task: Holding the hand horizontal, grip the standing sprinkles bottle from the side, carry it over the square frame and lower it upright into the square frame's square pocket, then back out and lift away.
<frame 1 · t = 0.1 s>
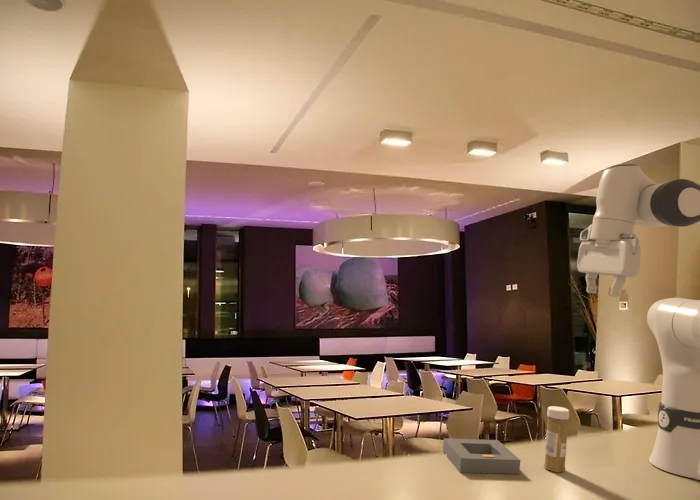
hand: (601, 294, 137), 39 cm above the table, tool pointing down, fingers open, 8 cm apart
square frame: (479, 462, 133), on the table
sprinkles bottle: (554, 470, 132), on the table
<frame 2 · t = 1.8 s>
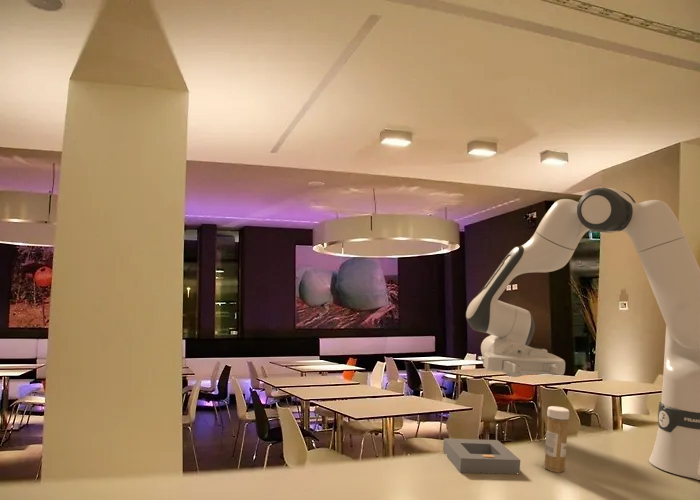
hand: (536, 370, 144), 19 cm above the table, tool horizontal, fingers open, 8 cm apart
nothing on the table moved.
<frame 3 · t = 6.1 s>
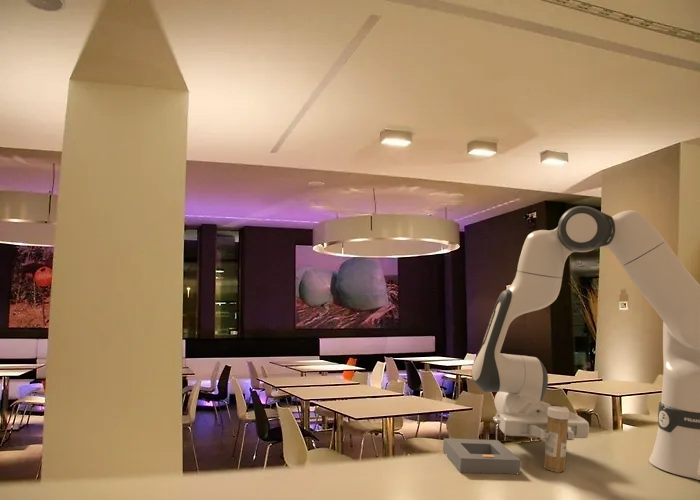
hand: (558, 436, 132), 8 cm above the table, tool horizontal, fingers closed on sprinkles bottle, 4 cm apart
sprinkles bottle: (554, 470, 132), on the table, touching gripper
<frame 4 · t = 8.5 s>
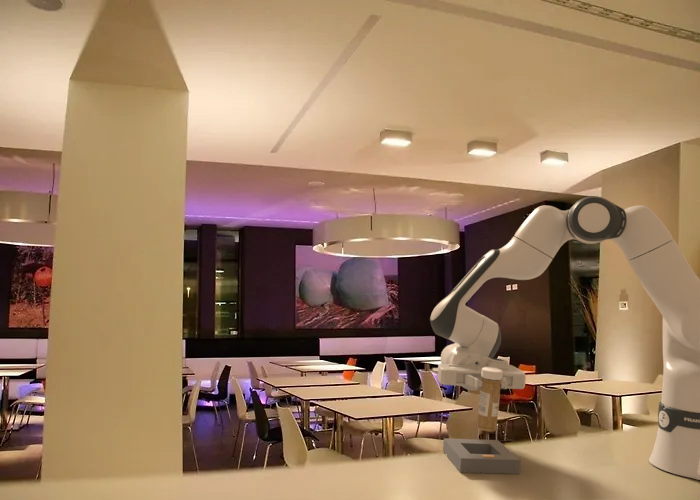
hand: (492, 384, 133), 17 cm above the table, tool horizontal, fingers closed on sprinkles bottle, 4 cm apart
sprinkles bottle: (486, 429, 134), point 7 cm above the table, touching gripper
when the fingers open (9 cm above the table, at t = 11.0 s): sprinkles bottle stays where it is, resting in square frame.
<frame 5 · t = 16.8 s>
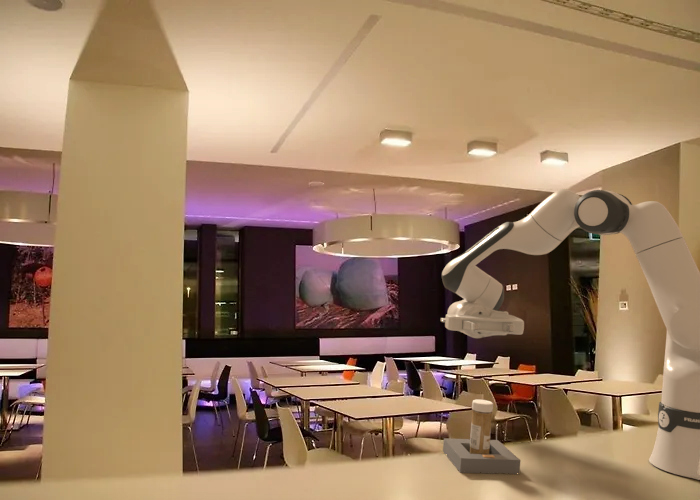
hand: (494, 328, 149), 28 cm above the table, tool horizontal, fingers open, 8 cm apart
sprinkles bottle: (478, 462, 134), resting in square frame
at the end: sprinkles bottle 0.3 cm off-centre on the square frame, point 0.0 cm above the square frame's base; sprinkles bottle tilted 0°; the gripper is holding nothing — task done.
